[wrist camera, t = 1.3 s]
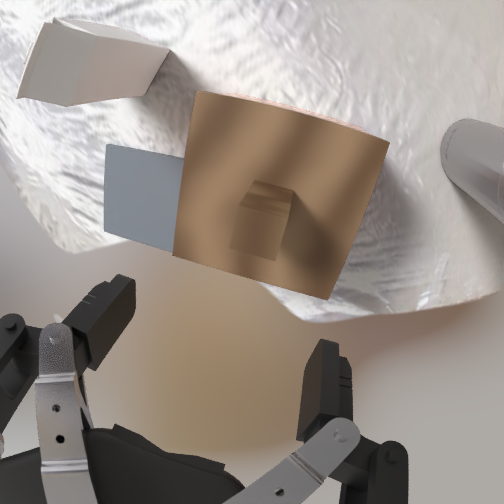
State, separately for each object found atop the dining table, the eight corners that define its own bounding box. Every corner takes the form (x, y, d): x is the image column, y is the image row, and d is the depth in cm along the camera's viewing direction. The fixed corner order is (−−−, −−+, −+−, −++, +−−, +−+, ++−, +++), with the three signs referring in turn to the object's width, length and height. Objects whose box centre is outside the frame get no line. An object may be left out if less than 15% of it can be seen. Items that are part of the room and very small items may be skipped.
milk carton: (171, 49, 31) (67, 32, 15) (144, 96, 35) (36, 114, 18) (131, 30, 30) (23, 14, 14) (107, 75, 34) (-2, 86, 17)
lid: (386, 140, 22) (413, 158, 16) (327, 294, 30) (328, 345, 24) (200, 90, 23) (163, 91, 17) (176, 250, 30) (145, 291, 24)
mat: (198, 161, 38) (196, 162, 37) (184, 253, 45) (183, 255, 45) (108, 143, 39) (106, 144, 38) (106, 229, 46) (104, 231, 45)
